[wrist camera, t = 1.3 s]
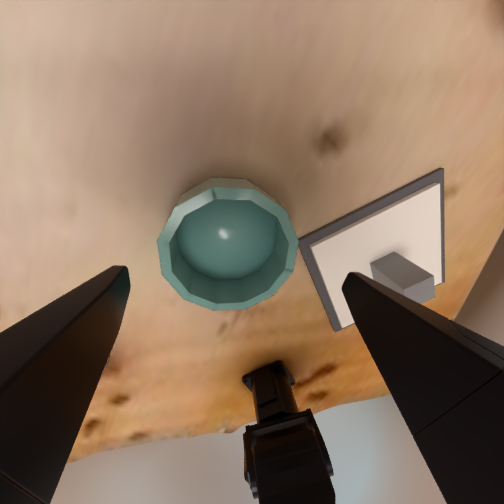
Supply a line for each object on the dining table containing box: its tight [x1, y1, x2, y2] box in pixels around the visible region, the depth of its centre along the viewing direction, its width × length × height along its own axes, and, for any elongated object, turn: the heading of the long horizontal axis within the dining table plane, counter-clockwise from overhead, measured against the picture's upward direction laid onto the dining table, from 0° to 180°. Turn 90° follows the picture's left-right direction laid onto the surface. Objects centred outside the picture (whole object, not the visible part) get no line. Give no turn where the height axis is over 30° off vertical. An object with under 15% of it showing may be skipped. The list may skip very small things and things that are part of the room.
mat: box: [298, 168, 445, 332], centre depth 26 cm, size 16×16×1 cm
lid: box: [309, 182, 442, 328], centre depth 23 cm, size 14×14×6 cm
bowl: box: [157, 177, 299, 311], centre depth 19 cm, size 11×11×4 cm
